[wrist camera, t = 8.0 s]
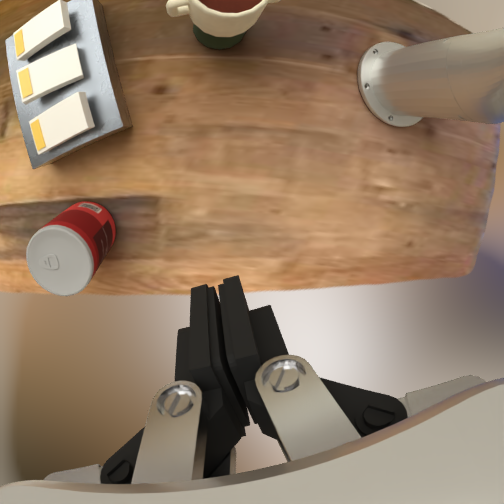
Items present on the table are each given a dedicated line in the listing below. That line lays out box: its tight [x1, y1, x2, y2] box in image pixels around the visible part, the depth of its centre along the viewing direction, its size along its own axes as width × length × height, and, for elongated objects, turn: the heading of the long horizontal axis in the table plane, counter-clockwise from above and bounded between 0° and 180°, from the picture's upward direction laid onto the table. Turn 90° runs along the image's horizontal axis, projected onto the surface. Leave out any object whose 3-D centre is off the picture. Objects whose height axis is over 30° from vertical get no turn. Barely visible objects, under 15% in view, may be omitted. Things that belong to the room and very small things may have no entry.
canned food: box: [26, 201, 116, 296], centre depth 31 cm, size 8×8×11 cm
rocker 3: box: [29, 92, 95, 155], centre depth 25 cm, size 7×4×2 cm, turn 105°
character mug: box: [166, 0, 281, 50], centre depth 23 cm, size 11×7×13 cm, turn 101°
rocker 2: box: [16, 43, 84, 105], centre depth 22 cm, size 7×4×2 cm, turn 104°
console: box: [6, 0, 133, 169], centre depth 26 cm, size 12×18×6 cm
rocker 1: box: [14, 0, 71, 61], centre depth 20 cm, size 7×4×2 cm, turn 105°
